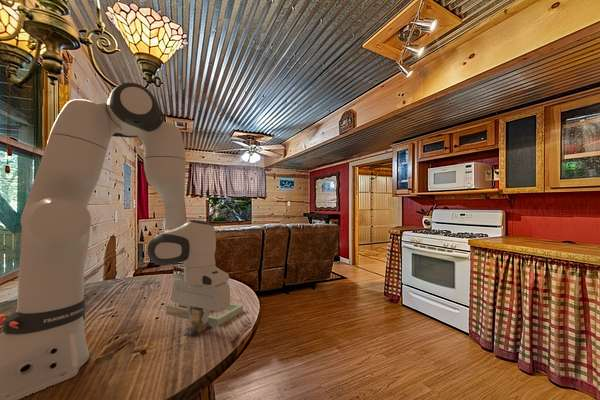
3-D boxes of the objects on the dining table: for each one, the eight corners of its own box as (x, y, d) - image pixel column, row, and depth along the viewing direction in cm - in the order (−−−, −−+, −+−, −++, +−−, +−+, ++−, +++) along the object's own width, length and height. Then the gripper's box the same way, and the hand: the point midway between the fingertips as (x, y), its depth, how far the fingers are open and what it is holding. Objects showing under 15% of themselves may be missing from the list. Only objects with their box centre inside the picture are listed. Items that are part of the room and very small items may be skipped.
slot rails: (191, 320, 84) (191, 311, 84) (165, 314, 89) (165, 305, 89) (217, 307, 95) (217, 299, 95) (193, 302, 100) (193, 294, 100)
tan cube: (186, 316, 87) (186, 304, 87) (178, 314, 89) (178, 303, 89) (195, 312, 91) (195, 301, 91) (187, 310, 92) (187, 299, 92)
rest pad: (193, 339, 72) (193, 337, 72) (182, 336, 73) (182, 334, 73) (213, 327, 79) (213, 326, 79) (203, 324, 81) (203, 323, 81)
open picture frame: (217, 327, 79) (218, 319, 79) (190, 320, 84) (191, 313, 84) (242, 312, 91) (243, 305, 91) (218, 307, 95) (218, 300, 95)
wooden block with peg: (192, 336, 72) (193, 313, 73) (185, 334, 74) (186, 311, 74) (210, 326, 79) (211, 304, 79) (203, 324, 80) (204, 303, 80)
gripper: (166, 272, 78) (165, 318, 78) (218, 280, 70) (218, 332, 69) (183, 268, 84) (182, 311, 83) (233, 275, 76) (232, 323, 75)
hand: (198, 321), depth 76 cm, fingers closed on wooden block with peg, 3 cm apart
